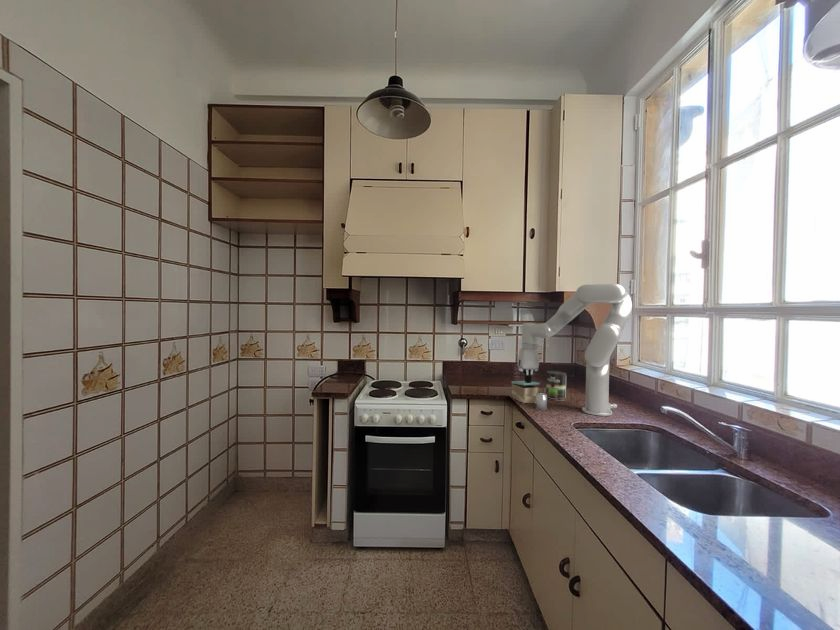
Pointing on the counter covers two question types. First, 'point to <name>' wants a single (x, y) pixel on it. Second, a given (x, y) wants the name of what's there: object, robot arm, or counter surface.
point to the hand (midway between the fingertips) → (527, 382)
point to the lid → (525, 383)
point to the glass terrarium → (556, 384)
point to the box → (525, 393)
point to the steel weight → (541, 400)
